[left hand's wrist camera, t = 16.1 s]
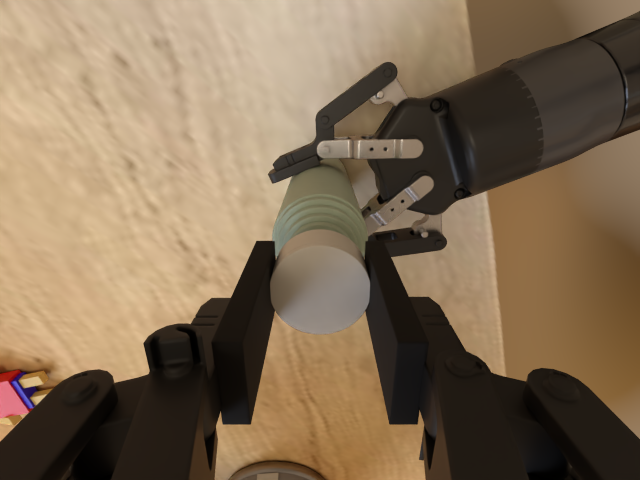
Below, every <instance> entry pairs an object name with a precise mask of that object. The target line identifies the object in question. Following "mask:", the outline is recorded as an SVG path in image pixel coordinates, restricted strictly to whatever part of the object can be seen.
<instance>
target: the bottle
mask: <svg viewBox="0 0 640 480" xmlns="http://www.w3.org/2000/svg"><path fill="white" fill-rule="evenodd" d="M316 229H324V230H331V231H335V232H338V233H340V234H342V235H344V236H346V237H348V238H349V239H350V240H351V241H353V242H354V243H355V244H356V245H357V247H358V248H359V250H360V251H361V253H362V255H363V258H364V255H365V241H368V232H367V227H366V224H365V221H364V218H363V216H362V213H361V210H360V208H359V205H358V202H357V199H356V197H355V194H354V191H353V188H352V186H351V183H350V180H349V177H348V175H347V172H346V169H345V167H344V165H343V164H342V162H341V161H340V160H339V159H323V160H321V161H320V165H318V166H316V167H313V168H311V169H308V170H305V171H303V172H301V173H298V174H296V175H294V176H292V178H291V181H290V184H289V186H288V189H287V192H286V195H285V197H284V200H283V203H282V206H281V208H280V211H279V214H278V217H277V219H276V222H275V225H274V229H273V235H272V240H273V241H275V254H276V257H277V256H278V254H279V252H280V250H281V249H282V247H283V246H284V245H285V244H286V243H287V242H288V241H289V240H290V239H291V238H293V237H294V236H296V235H298V234H300V233H303V232H306V231H309V230H316Z"/></svg>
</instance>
